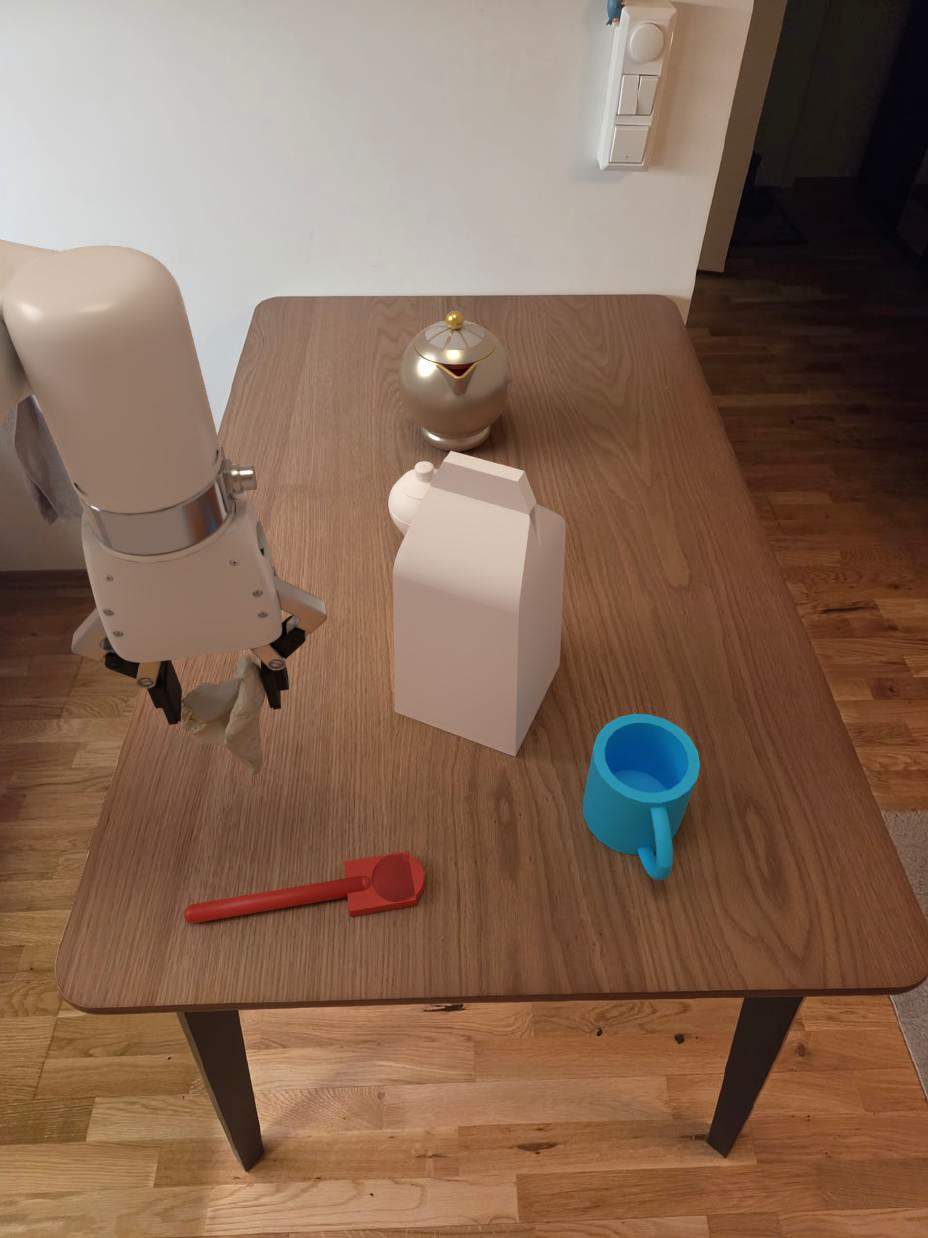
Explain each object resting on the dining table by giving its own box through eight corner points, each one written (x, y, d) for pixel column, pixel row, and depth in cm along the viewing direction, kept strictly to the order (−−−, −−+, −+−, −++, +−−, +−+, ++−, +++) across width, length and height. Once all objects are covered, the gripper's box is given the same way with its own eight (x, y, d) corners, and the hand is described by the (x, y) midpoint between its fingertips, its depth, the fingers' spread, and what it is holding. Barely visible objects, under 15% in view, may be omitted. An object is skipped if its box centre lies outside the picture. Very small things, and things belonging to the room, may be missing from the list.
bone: (178, 672, 64) (223, 596, 57) (260, 695, 66) (313, 625, 60) (155, 776, 58) (203, 705, 52) (246, 796, 61) (302, 732, 54)
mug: (573, 773, 75) (583, 718, 69) (665, 764, 75) (682, 709, 69) (604, 905, 67) (618, 856, 61) (706, 894, 67) (730, 844, 61)
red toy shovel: (185, 945, 65) (180, 938, 64) (187, 893, 67) (183, 885, 66) (428, 903, 67) (427, 895, 66) (420, 854, 70) (420, 846, 69)
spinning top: (391, 533, 96) (384, 444, 87) (460, 529, 96) (460, 441, 88) (393, 581, 91) (385, 492, 82) (465, 577, 91) (465, 488, 82)
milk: (394, 712, 79) (372, 490, 60) (447, 627, 86) (442, 405, 67) (515, 757, 76) (532, 537, 57) (559, 665, 83) (588, 442, 64)
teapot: (515, 467, 104) (522, 343, 92) (403, 472, 103) (395, 348, 91) (500, 385, 116) (504, 266, 104) (399, 389, 115) (392, 270, 103)
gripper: (316, 437, 49) (346, 642, 63) (0, 470, 47) (101, 676, 60) (326, 521, 44) (357, 725, 58) (-27, 564, 42) (90, 765, 55)
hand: (225, 698), depth 59 cm, fingers closed on bone, 6 cm apart
